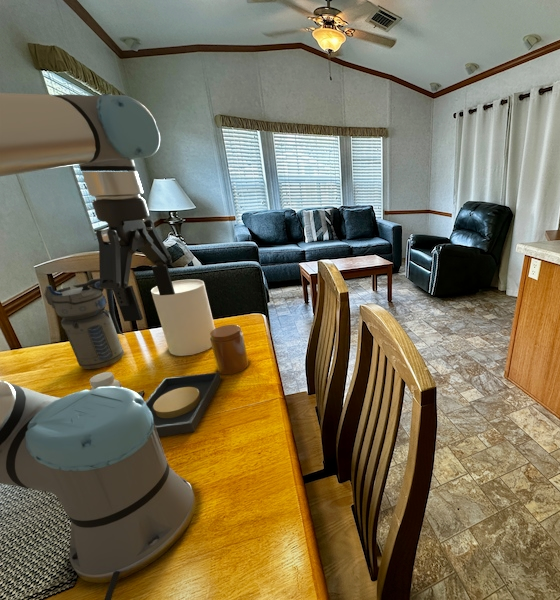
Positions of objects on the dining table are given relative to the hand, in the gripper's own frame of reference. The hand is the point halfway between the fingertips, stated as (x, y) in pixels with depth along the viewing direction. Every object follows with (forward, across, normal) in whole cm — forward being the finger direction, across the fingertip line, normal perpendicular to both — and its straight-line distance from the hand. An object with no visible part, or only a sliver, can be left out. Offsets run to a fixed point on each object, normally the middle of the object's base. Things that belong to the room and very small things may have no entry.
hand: (152, 306), depth 66 cm
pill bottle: (+27, -3, -16) cm, 31 cm away
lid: (+25, -2, -2) cm, 25 cm away
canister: (+27, -34, -10) cm, 44 cm away
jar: (+27, -18, +6) cm, 33 cm away
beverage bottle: (+27, -29, -32) cm, 51 cm away
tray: (+27, -2, -2) cm, 27 cm away
